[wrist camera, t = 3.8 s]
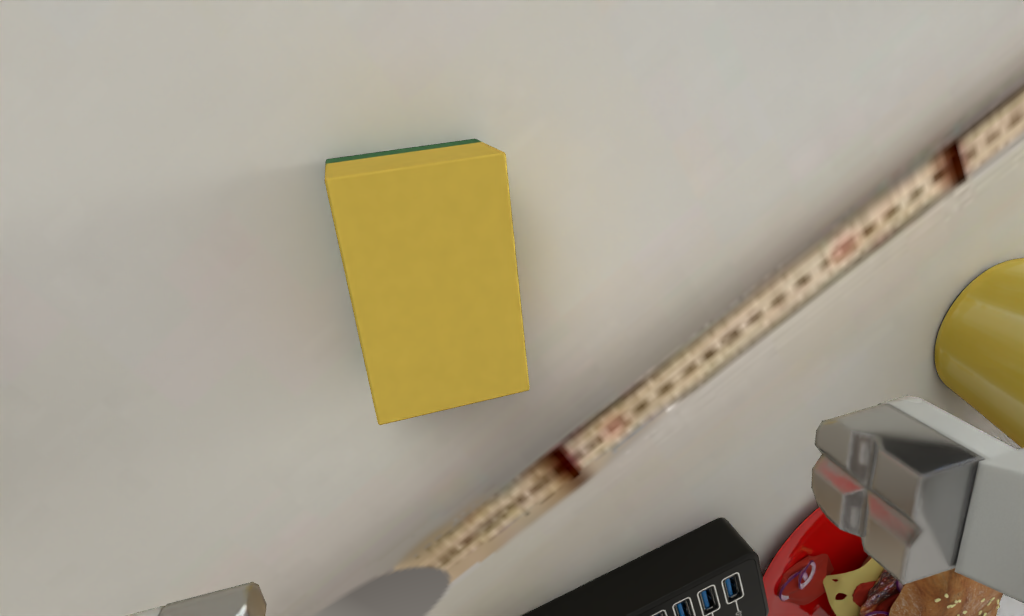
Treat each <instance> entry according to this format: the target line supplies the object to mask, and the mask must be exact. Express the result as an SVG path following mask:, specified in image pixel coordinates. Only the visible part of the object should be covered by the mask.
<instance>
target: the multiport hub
mask: <svg viewBox="0 0 1024 616" xmlns="http://www.w3.org/2000/svg"><path fill="white" fill-rule="evenodd" d="M768 613H769V608H768V603H767V598H766V593H765V588H764V583H763V578H762V573H761V568H760V563H759V558H758V555H757V554H756V553H755V552H754V550H753V549H752V548H751V547H750V546H749V545H748V544H747V543H746V541H745V540H744V539H743V538H742V537H741V536H740V535H739V533H738V532H737V531H736V530H735V529H734V528H733V527H732V526H731V524H730V523H729V522H728V521H727V520H726V519H724V518H719V519H716V520H714V521H712V522H710V523H708V524H706V525H704V526H702V527H700V528H698V529H696V530H694V531H692V532H690V533H688V534H686V535H684V536H682V537H680V538H678V539H676V540H674V541H672V542H670V543H668V544H666V545H664V546H662V547H660V548H658V549H656V550H653V551H651V552H649V553H647V554H645V555H643V556H641V557H639V558H637V559H635V560H633V561H631V562H629V563H627V564H625V565H623V566H621V567H619V568H617V569H615V570H613V571H611V572H609V573H607V574H605V575H603V576H601V577H599V578H597V579H595V580H593V581H591V582H589V583H587V584H585V585H583V586H581V587H579V588H577V589H575V590H573V591H571V592H569V593H567V594H565V595H563V596H561V597H559V598H557V599H555V600H553V601H551V602H549V603H547V604H545V605H543V606H540V607H538V608H536V609H534V610H532V611H530V612H528V613H526V614H524V615H522V616H767V615H768Z"/></svg>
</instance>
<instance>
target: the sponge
mask: <svg viewBox="0 0 1024 616" xmlns="http://www.w3.org/2000/svg"><path fill="white" fill-rule="evenodd" d="M325 185H326V189H327V194H328V198H329V203H330V207H331V212H332V216H333V221H334V226H335V230H336V235H337V239H338V244H339V248H340V253H341V257H342V262H343V266H344V271H345V276H346V280H347V285H348V289H349V294H350V298H351V303H352V307H353V312H354V316H355V321H356V325H357V330H358V335H359V339H360V344H361V348H362V353H363V357H364V362H365V366H366V371H367V375H368V380H369V385H370V389H371V394H372V398H373V403H374V407H375V412H376V416H377V421H378V424H379V425H382V424H387V423H391V422H395V421H400V420H404V419H408V418H412V417H417V416H421V415H425V414H430V413H434V412H438V411H442V410H447V409H451V408H455V407H460V406H464V405H468V404H473V403H477V402H481V401H485V400H490V399H494V398H498V397H503V396H507V395H511V394H515V393H520V392H524V391H528V390H529V378H528V368H527V358H526V349H525V339H524V329H523V319H522V310H521V300H520V290H519V280H518V271H517V261H516V251H515V241H514V232H513V222H512V212H511V202H510V193H509V183H508V173H507V163H506V154H505V153H504V152H502V151H500V150H498V149H496V148H494V147H491V146H489V145H487V144H485V143H483V142H481V141H479V140H477V139H470V140H463V141H455V142H448V143H441V144H434V145H427V146H419V147H412V148H405V149H398V150H391V151H383V152H376V153H369V154H362V155H355V156H348V157H340V158H333V159H327V160H326V166H325Z"/></svg>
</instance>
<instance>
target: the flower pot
mask: <svg viewBox="0 0 1024 616" xmlns="http://www.w3.org/2000/svg"><path fill="white" fill-rule="evenodd" d="M935 365H936V369H937V373H938V375H939V377H940V379H941V380H942V381H943V383H944V384H945V385H946V386H947V387H949V388H950V389H951V390H952V391H954V392H955V393H956V394H957V395H959V396H960V397H961V398H962V399H963V400H965V401H966V402H967V403H968V404H970V405H971V406H972V407H973V408H975V409H976V410H977V411H978V412H979V413H981V414H982V415H983V416H984V417H985V418H987V419H988V420H989V421H990V422H991V423H993V424H994V425H995V426H996V427H997V428H999V429H1000V430H1001V431H1002V432H1003V433H1005V434H1006V435H1007V436H1008V437H1009V438H1011V439H1012V440H1013V441H1014V442H1015V443H1017V444H1018V445H1019V446H1020V447H1021V448H1024V258H1020V259H1013V260H1009V261H1006V262H1003V263H1000V264H998V265H995V266H993V267H991V268H989V269H988V270H986V271H985V272H983V273H982V274H981V275H979V276H978V277H977V278H976V279H974V280H973V281H972V282H971V283H970V284H969V285H968V286H967V287H966V288H965V289H964V290H963V291H962V292H961V293H960V295H959V296H958V297H957V299H956V300H955V301H954V303H953V304H952V306H951V307H950V309H949V310H948V312H947V314H946V316H945V318H944V320H943V322H942V324H941V327H940V329H939V332H938V336H937V340H936V344H935Z"/></svg>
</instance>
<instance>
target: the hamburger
mask: <svg viewBox="0 0 1024 616" xmlns="http://www.w3.org/2000/svg"><path fill="white" fill-rule="evenodd" d="M763 583H764V588H765V593H766V598H767V603H768V608H769V613H768V615H767V616H996V614H997V610H998V608H999V607H1000V605H999V602H1000V600H1001V598H1002V595H1003V593H1000V592H998V591H996V590H994V589H992V588H989V587H987V586H985V585H983V584H981V583H978V582H976V581H974V580H972V579H970V578H967V577H965V576H963V575H961V574H959V573H956V572H955V568H954V569H951V570H948V571H945V572H941V573H938V574H935V575H932V576H929V577H926V578H923V579H920V580H917V581H914V582H911V583H908V584H904V585H902V584H901V583H900V582H899V581H898V580H897V579H895V578H894V577H893V576H892V575H891V574H890V573H889V572H887V571H886V570H885V569H884V568H883V567H882V566H881V565H879V564H878V563H877V562H876V561H875V560H874V559H873V558H871V557H870V556H869V555H868V554H867V553H866V552H865V551H864V549H863V545H862V541H861V537H859V536H856V535H853V534H850V533H848V532H845V531H842V530H840V529H839V528H838V527H836V526H835V525H834V524H833V523H832V522H831V521H830V520H829V519H828V518H827V517H826V516H825V514H824V513H823V512H822V510H821V509H820V507H819V508H817V509H816V510H815V511H814V512H813V513H812V514H811V515H810V516H808V517H807V518H806V519H805V520H804V521H803V522H802V523H801V524H800V525H799V526H798V528H797V529H796V530H795V531H794V532H793V533H792V534H791V535H790V537H789V538H788V539H787V540H786V542H785V543H784V544H783V545H782V547H781V548H780V550H779V551H778V552H777V554H776V555H775V557H774V558H773V560H772V562H771V563H770V565H769V567H768V569H767V570H766V572H765V574H764V576H763Z"/></svg>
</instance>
